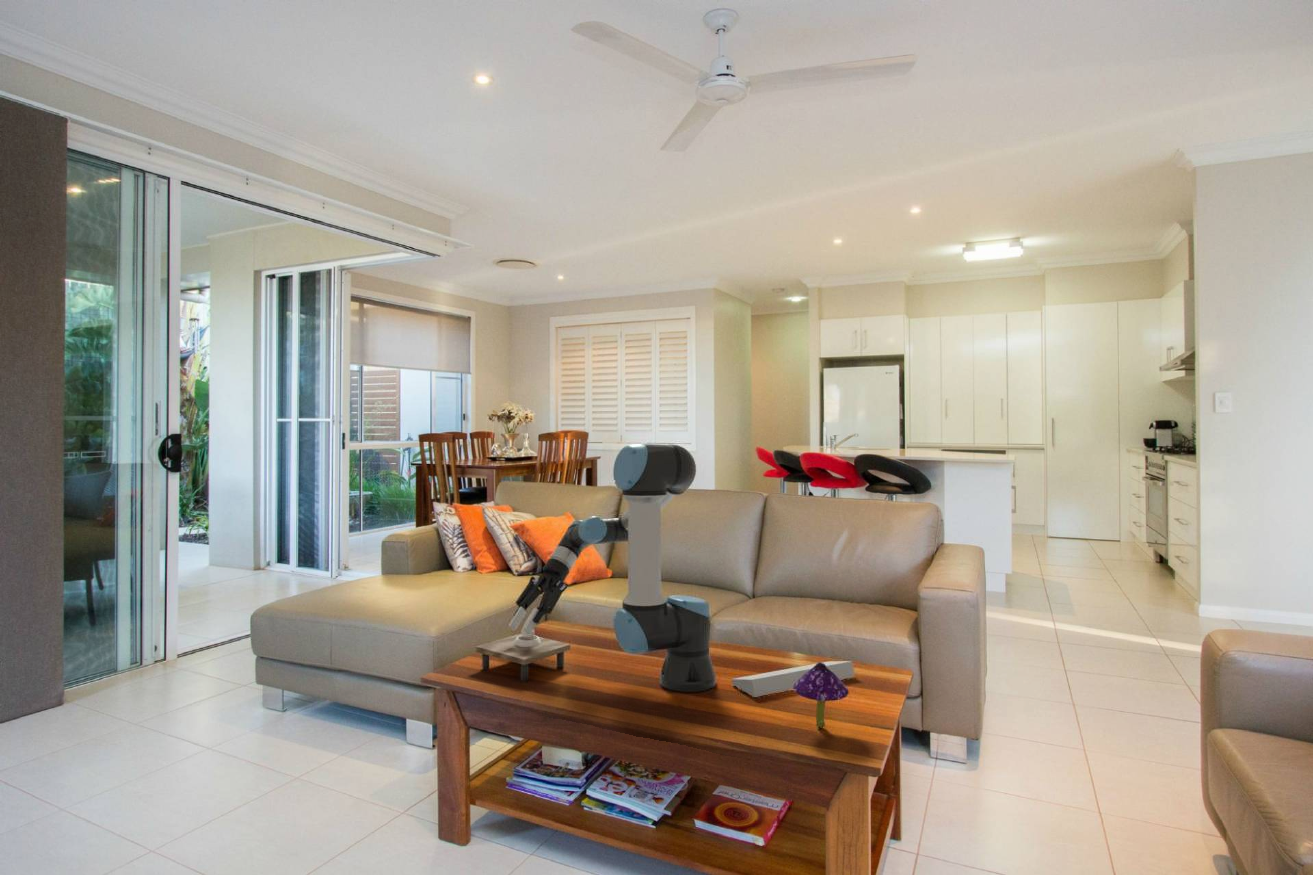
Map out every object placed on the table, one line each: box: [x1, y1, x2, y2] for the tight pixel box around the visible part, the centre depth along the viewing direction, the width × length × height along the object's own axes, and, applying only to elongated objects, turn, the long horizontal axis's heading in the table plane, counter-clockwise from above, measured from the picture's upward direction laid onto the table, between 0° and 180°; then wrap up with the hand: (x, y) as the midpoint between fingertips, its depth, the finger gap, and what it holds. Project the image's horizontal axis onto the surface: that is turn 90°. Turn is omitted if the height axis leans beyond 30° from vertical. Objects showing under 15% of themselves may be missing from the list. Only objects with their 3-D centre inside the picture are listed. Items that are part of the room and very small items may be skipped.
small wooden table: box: [475, 633, 571, 682], centre depth 200 cm, size 20×18×6 cm
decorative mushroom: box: [793, 661, 850, 729], centre depth 159 cm, size 12×12×15 cm
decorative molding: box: [731, 660, 856, 698], centre depth 190 cm, size 34×5×10 cm
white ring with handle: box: [514, 606, 541, 647], centre depth 204 cm, size 8×12×7 cm
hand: (519, 629), depth 199 cm, fingers open, 5 cm apart
